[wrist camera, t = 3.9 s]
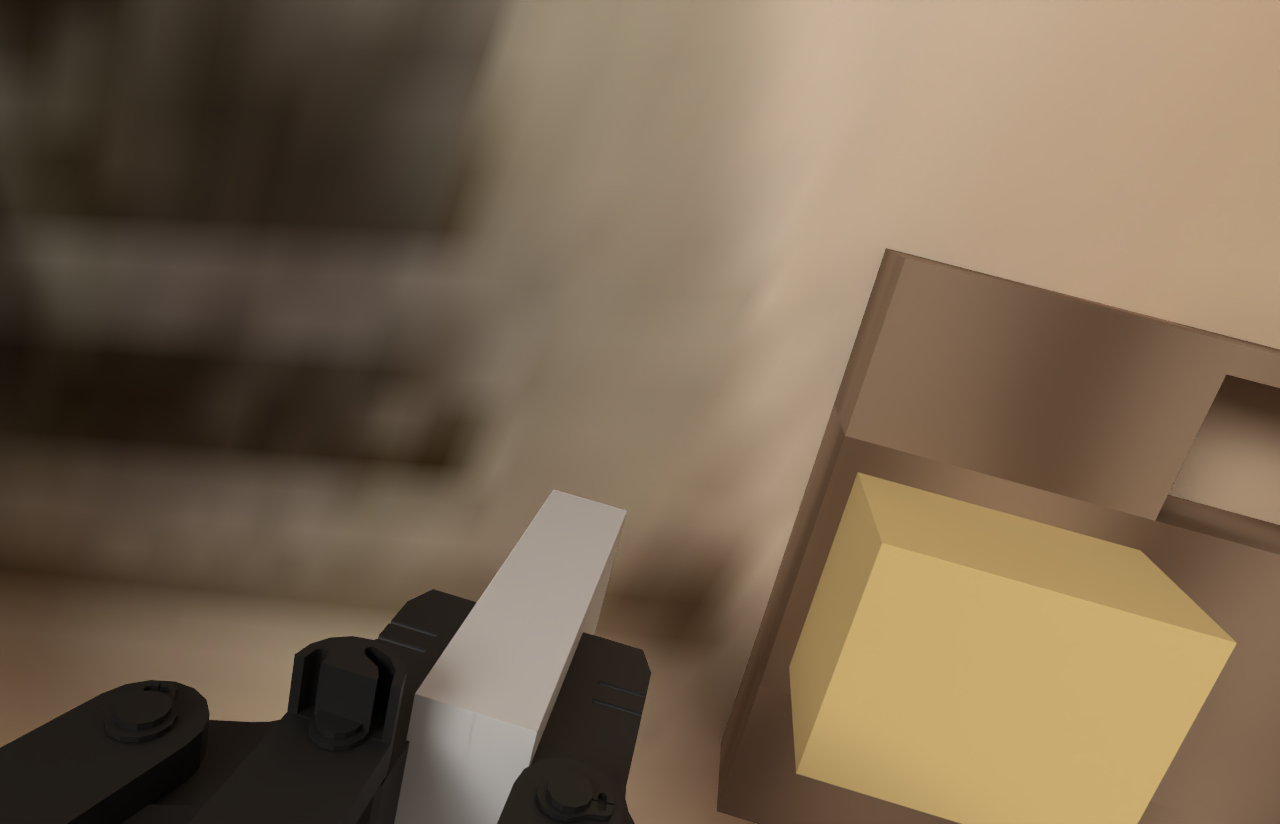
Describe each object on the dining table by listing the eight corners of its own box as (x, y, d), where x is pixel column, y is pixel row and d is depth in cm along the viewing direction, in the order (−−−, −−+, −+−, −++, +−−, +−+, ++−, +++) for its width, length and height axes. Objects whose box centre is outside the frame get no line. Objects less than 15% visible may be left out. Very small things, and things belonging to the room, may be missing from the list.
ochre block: (789, 666, 18) (796, 773, 15) (858, 471, 17) (882, 542, 14) (1047, 743, 18) (1112, 870, 15) (1140, 550, 17) (1237, 642, 13)
